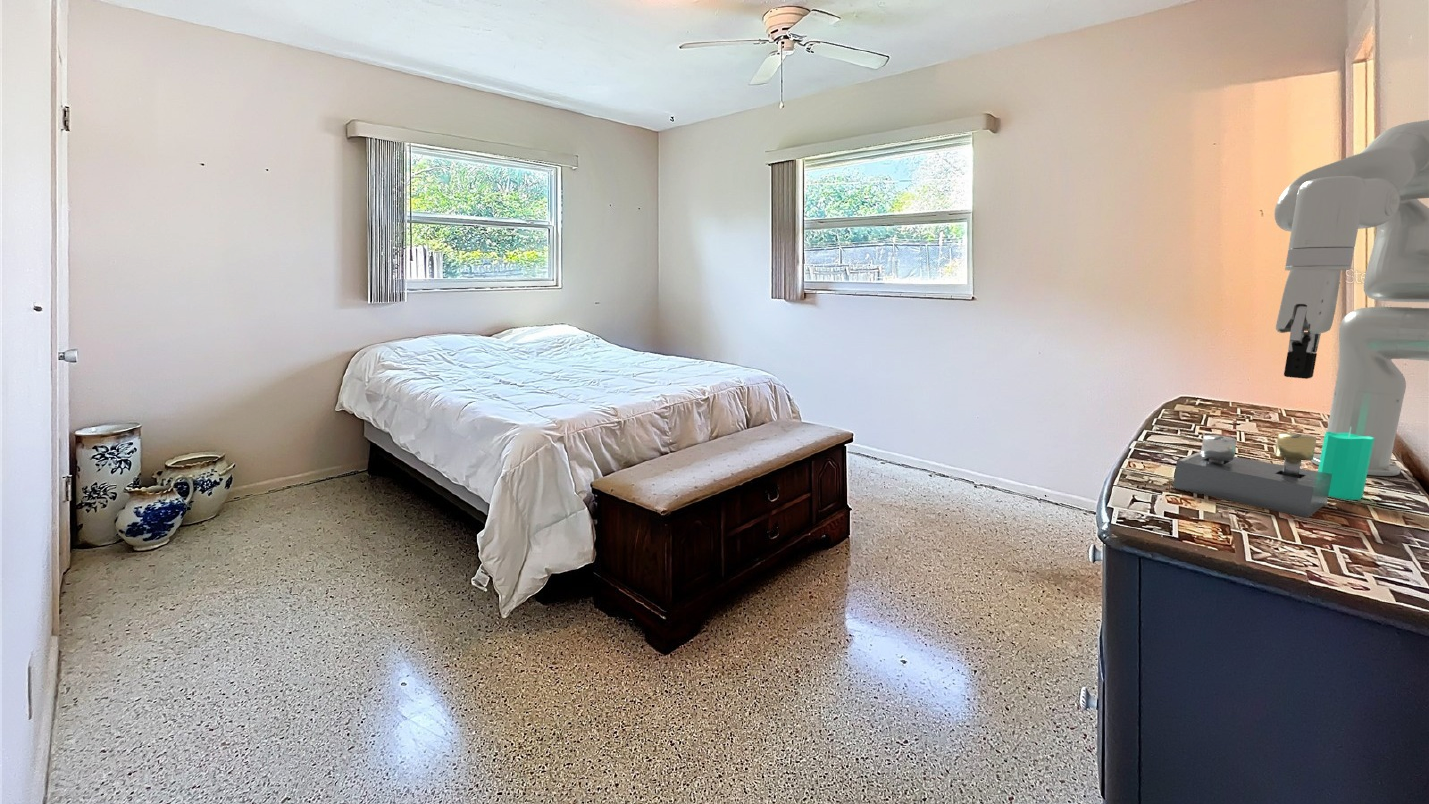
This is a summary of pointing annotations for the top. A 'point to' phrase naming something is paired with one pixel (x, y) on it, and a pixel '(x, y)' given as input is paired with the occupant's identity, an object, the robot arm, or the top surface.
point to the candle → (1346, 463)
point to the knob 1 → (1218, 448)
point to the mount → (1254, 484)
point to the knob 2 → (1294, 451)
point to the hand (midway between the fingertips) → (1297, 377)
